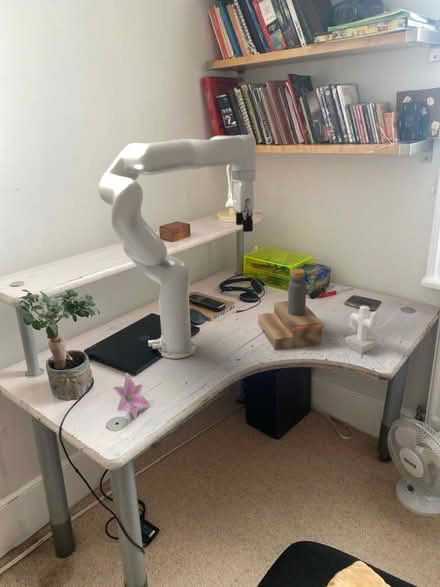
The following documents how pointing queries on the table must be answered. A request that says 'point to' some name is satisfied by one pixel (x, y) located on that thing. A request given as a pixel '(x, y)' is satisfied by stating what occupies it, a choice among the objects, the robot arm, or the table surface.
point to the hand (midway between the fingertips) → (244, 228)
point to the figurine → (362, 330)
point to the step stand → (290, 327)
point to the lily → (131, 396)
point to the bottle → (297, 292)
